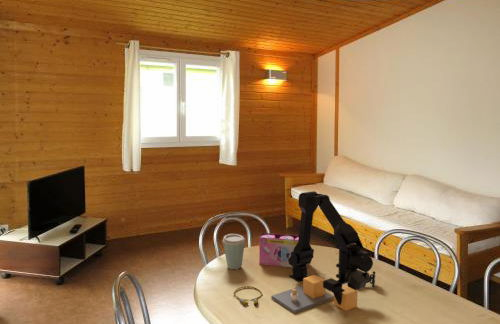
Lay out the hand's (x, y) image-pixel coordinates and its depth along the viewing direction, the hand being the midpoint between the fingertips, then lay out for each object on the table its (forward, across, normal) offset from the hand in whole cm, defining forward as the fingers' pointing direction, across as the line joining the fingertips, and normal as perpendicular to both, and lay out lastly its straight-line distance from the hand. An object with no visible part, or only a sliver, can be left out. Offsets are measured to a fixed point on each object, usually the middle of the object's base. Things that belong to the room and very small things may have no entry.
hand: (345, 302), depth 150 cm
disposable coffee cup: (+2, -16, +55) cm, 57 cm away
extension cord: (+2, -27, +27) cm, 38 cm away
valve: (+2, +19, +10) cm, 21 cm away
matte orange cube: (+1, 0, 0) cm, 1 cm away
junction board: (+1, -10, +13) cm, 16 cm away
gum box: (+2, +6, +46) cm, 46 cm away
